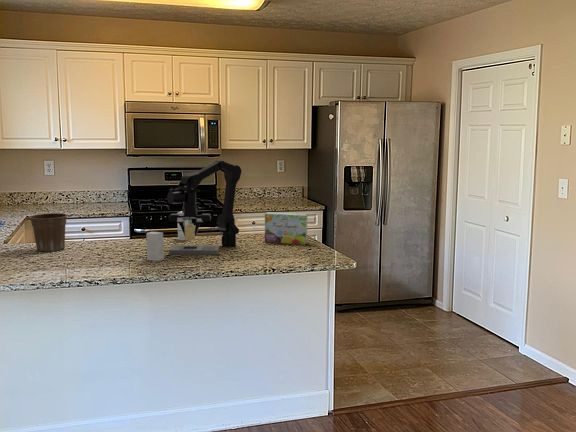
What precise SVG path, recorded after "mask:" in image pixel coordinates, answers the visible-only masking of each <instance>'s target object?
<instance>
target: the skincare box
mask: <svg viewBox="0 0 576 432" xmlns="http://www.w3.org/2000/svg"><path fill="white" fill-rule="evenodd" d="M164 247H165V245H164V232H162V231H161V232H159V231H150V232H147V233H146V254H147V256H146V258H147V259H146V260H147V261H155V262H160V261H163V260H165V251H164Z"/></svg>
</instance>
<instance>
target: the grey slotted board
mask: <svg viewBox="0 0 576 432" xmlns="http://www.w3.org/2000/svg"><path fill="white" fill-rule="evenodd" d="M220 248H221V247H220V244H219V245H216V244H215V245H210V244H209V245H208V244H207V245H203V244H202V245H201V244H200V245H197V244H196V245H193V244H192V245H191V244H190V245H187V244H186V245H179V244H178V245H171V247H170V249H169V250H168V255H173V256H174V255H190V256H191V255H193V256H194V255H199V256H200V255H201V256H202V255H203V256H207V255H214V256H216V255H217V256H218V254H219V253H220V250H221V249H220Z"/></svg>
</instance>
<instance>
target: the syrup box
mask: <svg viewBox="0 0 576 432" xmlns="http://www.w3.org/2000/svg"><path fill="white" fill-rule="evenodd" d="M176 214H179V215H184V213H182V210H181V211H178V212H177V213H176ZM184 220H185V226H186V225H188V224H193V221H192V220H193V219H184ZM177 240H178V241H186V240H185V236H184V233H183V231H182V228H181V227H180V225H179V223H177Z"/></svg>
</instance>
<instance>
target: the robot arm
mask: <svg viewBox="0 0 576 432" xmlns="http://www.w3.org/2000/svg"><path fill="white" fill-rule="evenodd" d="M219 171H220V172H222V173H223V178H224V180H225V188H224V191H225V192H224V197H223V206H222V212H221V214H218V215H217V220H216V224H217V225H216V226H217V228H218V229H219V232H220V233H222V236H221V245H222V247H226V248H229V247H231V248H232V247H237V234H238V235H239V232H240V229H239V228H238V226H237V225H236V220H235V219H236V218H235V216H234V214H233V213H234V206H235V198H236V189H237V184H238V182H239V181H240V179H241V176H242V168H241V167H240V166H239V165H237V164H232V163H230V162H229V163H228V162H227V161H224V160H221V159H220V160H219V159H216V160H215V161H214V162H212V163H211V164H209V165H207V166H204V167H203V168H201V169H200V170H199V169H198V170H197V171H196V172H190V173H189V172H188V173H186V174H183V175H181V179H180V182H179V183H178V185H177V186H176V188H169V191H168V192H167V196H166V200H167V202H168V204H170V205H177V204H183V205H182V208H181V211H182V213H184V215H179V214H177V213H171V214H169V215H168V221H169V222H176V224H178V223H179V225H180V227H181V228H182V231H183V233H184V236H185V220H184V219H192V220H195V225H196V227H195V236H196V237H197V236H198V235H197V234H198V233H199V229H200V225H201V224H203V222H211V220H212V215H211V213H202V214H201V215H198V207H197V193H200V192H201V190H200V189H199V188H198V186H199V185H200V184H201V182H203V180H205V179H206V178H208V177H210V176H212V175H213V174H215V173H218V172H219Z"/></svg>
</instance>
